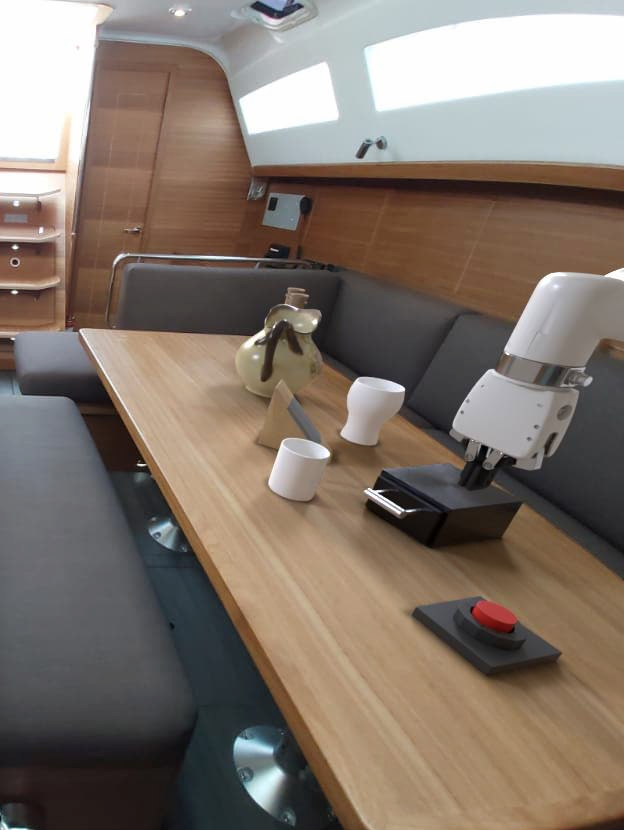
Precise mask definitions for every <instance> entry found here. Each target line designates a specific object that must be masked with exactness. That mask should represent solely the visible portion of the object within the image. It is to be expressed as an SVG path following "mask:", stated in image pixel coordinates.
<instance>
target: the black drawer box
mask: <svg viewBox="0 0 624 830" xmlns="http://www.w3.org/2000/svg"><path fill="white" fill-rule="evenodd" d="M462 470H463V469H462V468H459V467H457V466H455V465H454V464H451V463H449V462H445V463H433V464H423V465H411V466H402V467H391V468H390V467H389V468H382V469H381V472H380V473H379V476H381V475H384V476H385V477H387V478H389V479H390V480H393V481H395V482H397V483H398V484H400V485H402V486H404V487H405V488H407V489H409V490H410V491H412V492H414V493H415V494H417V495H419V496H421V497H422V498H424V499H426V500H427V501H429V502H431V503H432V504H434V505H436V506H438V507H439V508H441V509H443V510H444V511H445V512H446V513H445V514H444V516H443V518H442V520H441V522H440V524H439V525H438V527H437V529H436V531H435V533H434V535H433V537H432V538H431V540H430V542H429V544H425V546H427V547H429V548H430V549H436V548H443V547H450V546H457V545H464V544H472V543H480V542H487V541H494V540H501V539H502V537H504V534H505V533H506V531H507V530H508V528H509V527H510V525H511V523H512V522H513V521H514V518H515V516H516V515H517V514H518V512H519V510H520V508H521V507H522V505H523V504H524V502H525V500H523V499H521V498H519V497H517V496H516V495H513V494H511V493H509V492H507V491H505V490H503V489H501V488H499V487H497V486H496V485H493V484H492V483H491V484H490V486H489V487H487V488H485V489H482V490H474V491H469V490H467V489H466V488H465V487H461V486H459V485H458V482H459V481H460V479H461V477H460V474H461V472H462Z"/></svg>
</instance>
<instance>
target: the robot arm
mask: <svg viewBox="0 0 624 830" xmlns="http://www.w3.org/2000/svg"><path fill="white" fill-rule="evenodd" d="M604 339H608V340H612V341H616V342H617V341H618V342H622V343H624V267H622V268H620V269H617V270H614V271H611V272H610V273H608V274H605V275H601V274H593V273H585V272H573V271H572V272H570V271H563V272H562V271H558V272H553V273H552V272H551V273H549V274H547V275H545V276H544V277H542V278H541V279H540V281H538V283H537V285H536V287H535V288H534V291H533V292H532V294H531V296H530V298H529V299H528V302H527V304H526V306H525V308H524V309H523V312H522V314H521V315H520V318H519V319H518V322H517V323H516V325H515V327H514V329H513V331H512V333H511V335H510V337H509V339H508V341H507V343H506V345H505V347H504V349H503V350H502V353H500V356H499V359H498V360H497V362H496V364H495V366H494V368H491V369H488V370H487V371H486V372H485V373H484V374H483V375H482V376H481V377H480V378H479V379H478V381H476V383H475V384H474V386H473V387H472V388H471V390H470V392H468V394H467V396H466V397H465V399H464V400H463V402H462V404H461V405H460V406H459V408H458V410H457V413H456V414H455V416H454V419H453V421H452V428H451V429H450V431H449V436H450V437H452V438H453V439H454V440H456V441H457V442H458V443H460V444H461V446H462V448H463V450H464V452H465V455H464V459H465V460H466V463H465V465H464V467H463V469H461V470H462V472H461V474H460V477H461V479H460V481H459V482H458V485H459V486H461V487H465V488H466V489H467V490H469V491H474V490H482V489H485V488H487V487H489V486H490V484H491V485H492V483H493V481H494V480H495V478H496V475H497V474H498V472H499V470H500V469H505V468H509V467H514V468H516V469H521V470H525V471H538V470H540V469H541V468H542V463H543V460H544V458H550V457H552V456H553V455H554V454H555V452H556V451H557V449H558V448H559V446H560V444H561V442H562V440H563V438H564V437H565V435H566V432H567V430H568V428H569V426H570V423H571V421H572V418H573V416H574V413H575V410H576V407H577V404H578V399H579V395H580V390H578V389H575V388H573V387H576V386H581V387H588V386H589V385H590V384H591V383H592V382H593V380H594V377H593V376H592V375H587V373H585V370H586V369H587V367H586V365H587V363H588V361H589V359H590V358H591V356H592V355H593V353H594V351H595V350H596V348H597V347H598V344H599V343H600V341H601V340H604ZM491 450H492V452H491Z"/></svg>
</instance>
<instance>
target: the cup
mask: <svg viewBox="0 0 624 830" xmlns="http://www.w3.org/2000/svg"><path fill="white" fill-rule="evenodd" d="M405 393H406V388H405V387H404V386H403V385H401V384H398V383H397V382H393V381H391V380H388V379H384V378H379V377H369V376H360V377H357V378H356V379H355V380H354V382H353V384H352V385H351V386H350V388H349V391H348V393H347V396H346V407H347V412H348V416H347V420H346V423H345V424H344V427H343V428H342V430H341V431H340V432H339V433H340V436H341V437H342V438H343V439H344V440H346V441H348V442H351V443H354V444H358V445H361V446H376V445H377V444H378V441H379V435H380V432H381V430H382V428H383V427H384V425H385V424H386V423H387V422H388V421H389V420H391V419H392V418H393V417H395V415H396V414H398V412H399V411H400V410H401V408H402V406H403V404H404V401H405Z"/></svg>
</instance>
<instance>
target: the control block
mask: <svg viewBox="0 0 624 830" xmlns="http://www.w3.org/2000/svg"><path fill="white" fill-rule="evenodd" d="M479 601H488V599H486V598H484V597H483V596H482V595H479V596H473V597H466V598H461V599H454V600H448V601H443V602H436V603H430V604H424V605H417V606H415V608H414V609H413V612H412V613H411V616H412V617H413V618H415V619H416V620H417V621H418V622H419V623H421V624H422V625H423V626H424V627H425V628H427V630H429V631H431V632H432V634H434V635H435V636H437V637H438V638H439V639H440V640H442V641H443V642H444V643H445V644H446V645H448V647H450V648H451V649H453V650H454V651H455V652H456V653H457V654H458V655H460V656H461V657H462V658H464V659H465V660H466V661H467V662H469V663H470V664H471V665H472V666H474V667H475V668H476V669H477V670H478V671H480V672H481V673H482V674H483V675H485V676H487V677H488V676H492V675H497V674H498V675H499V674H502V673H506V672H511V671H512V672H513V671H516V670H517V671H518V670H521V669H525V668H531V667H536V666H540V665H545V664H550V663H555V662H557V661H558V660H559V658H560V657H561V656H562V655H563V652H562V651H561V650H559V649H558V648H556V647H555V646H553V644H551V643H549V642H548V641H547V640H545V639H543V638H542V637H541V636H539V635H538V634H536V633H534V632H533V631H532V630H531V629H529V628H528V627H526V626H525V625H524V624H522V623H521V621H520V620H518V619H517V623H516V624H515V626H514V627H513V629H512V630H511V631H510V632H509V633H503V632H499V631H495V630H493V629H491V628H489V627H487V626H485V625H483V624H482V623H480V622H479V621H478V620H476V619H475V618H474V617H473V615H472V611H473V609H474V608H475V606H476V605H477V603H478V602H479Z"/></svg>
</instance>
